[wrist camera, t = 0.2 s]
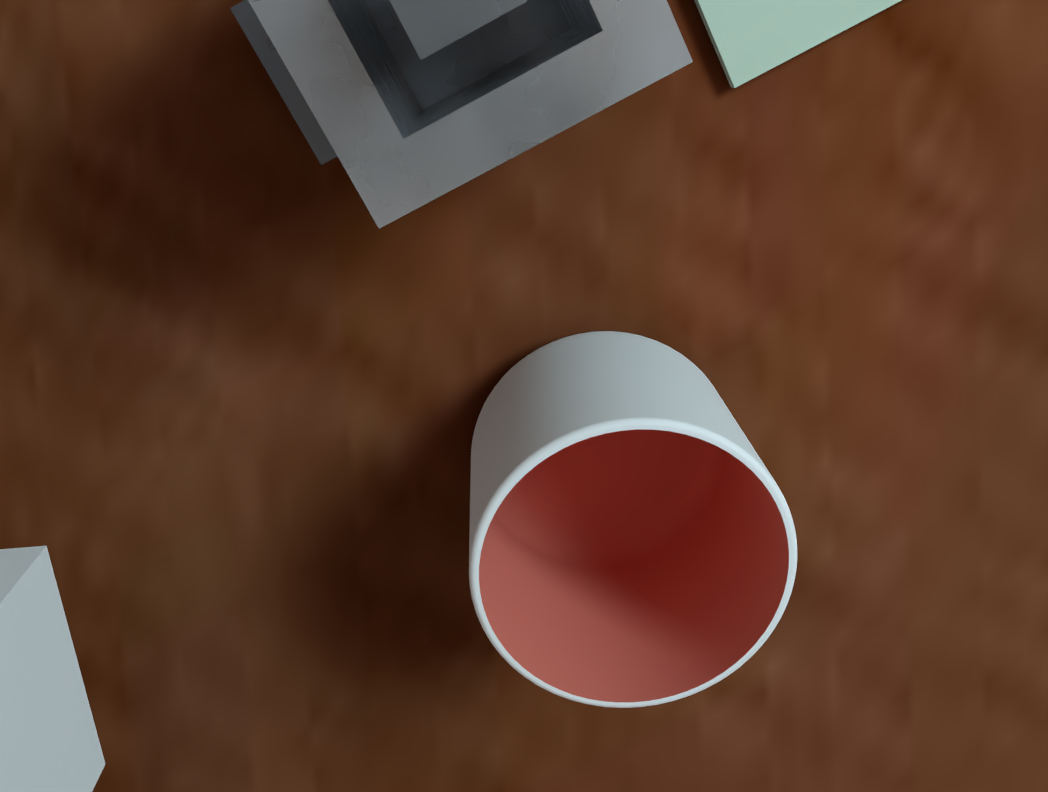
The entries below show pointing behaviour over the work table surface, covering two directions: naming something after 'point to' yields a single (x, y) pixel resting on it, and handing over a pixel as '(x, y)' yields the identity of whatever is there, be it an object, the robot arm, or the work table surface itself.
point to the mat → (775, 29)
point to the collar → (460, 92)
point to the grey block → (425, 47)
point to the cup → (622, 525)
